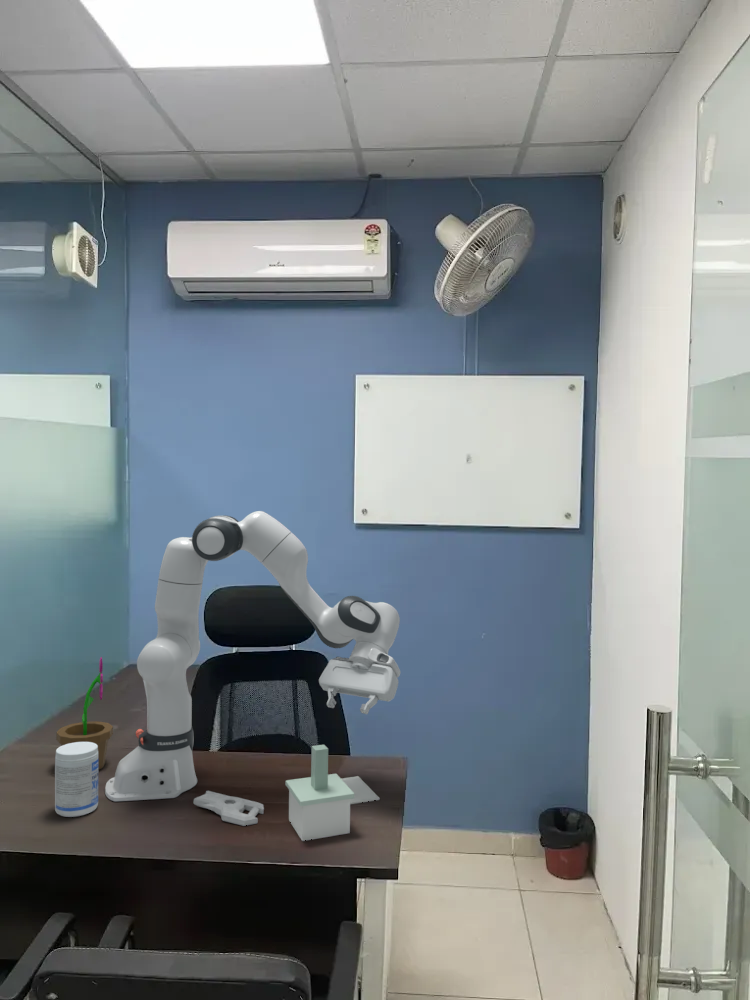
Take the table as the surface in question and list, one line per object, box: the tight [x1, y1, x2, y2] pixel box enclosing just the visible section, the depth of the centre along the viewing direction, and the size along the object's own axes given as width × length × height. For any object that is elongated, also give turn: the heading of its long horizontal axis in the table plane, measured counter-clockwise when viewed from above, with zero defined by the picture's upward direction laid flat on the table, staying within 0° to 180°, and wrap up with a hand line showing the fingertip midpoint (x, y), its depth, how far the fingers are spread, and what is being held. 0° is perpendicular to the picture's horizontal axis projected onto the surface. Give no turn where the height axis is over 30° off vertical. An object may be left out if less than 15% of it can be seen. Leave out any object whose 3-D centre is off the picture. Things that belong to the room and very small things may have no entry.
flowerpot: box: [55, 656, 114, 771], centre depth 200 cm, size 14×14×30 cm
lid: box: [285, 744, 354, 806], centre depth 167 cm, size 12×12×11 cm
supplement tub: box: [54, 742, 99, 818], centre depth 173 cm, size 10×10×15 cm
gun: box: [193, 790, 265, 827], centre depth 173 cm, size 18×3×10 cm
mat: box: [340, 775, 380, 805], centre depth 186 cm, size 15×15×1 cm
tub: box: [288, 789, 351, 842], centre depth 167 cm, size 11×11×8 cm
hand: (346, 709), depth 177 cm, fingers open, 8 cm apart
